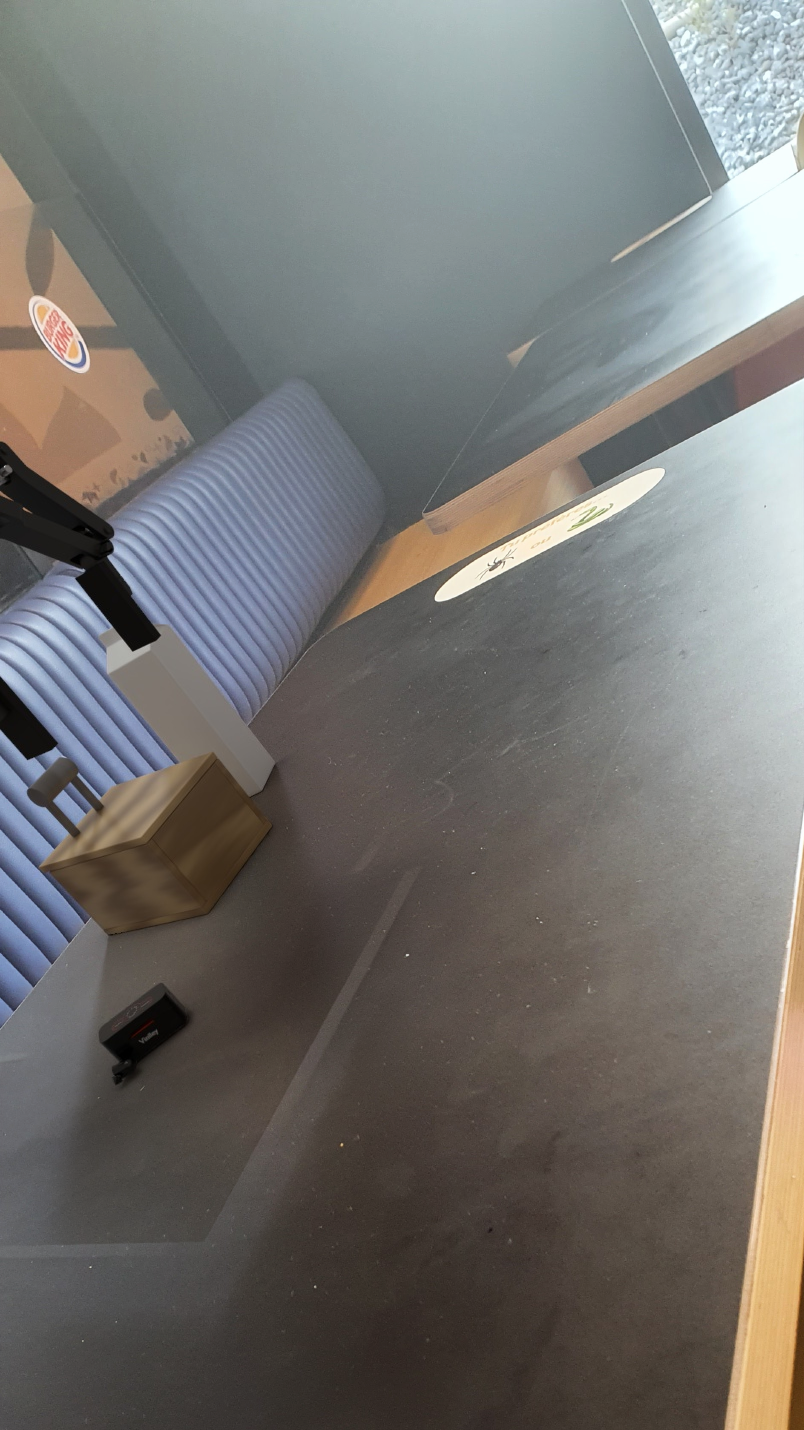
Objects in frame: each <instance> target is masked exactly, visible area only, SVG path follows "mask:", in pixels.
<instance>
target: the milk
mask: <svg viewBox="0 0 804 1430" xmlns="http://www.w3.org/2000/svg"><path fill="white" fill-rule="evenodd" d="M151 623H152V624H153V625H154V627H155V628H156V629H157V630H158V632H159V633H160V634H161V636H160V637H159V639H158V640H157V641H155V642H153V643H151V644H148V645H146V646H144V647H142V648H140V649H138V650H136V651H133V652H132V651H131V649H130V648H129V647H128V646H127V644H126V643H125V642H124V640H123V639H122V638H121V637H120V635H119V634H118V633H117V632H116V630H115V629H114V628H113V627H112V626H111V627H110V628H108V629H106V630H105V631H103V632H102V633H100V634H98V637H97V639H98V641H99V642H101V644H102V645H103V646H104V647H105V650H106V651H105V653H106V675H107V676H108V678H110V680H111V681H112V682H113V683H114V685H115V686H116V688H118V689H119V691H120V692H121V693H122V694H123V696H125V699H127V700H128V701H129V703H130V704H131V705H132V707H134V709H135V710H136V712H137V713H138V714H139V715H140V716H141V717H142V719H144V721H145V722H146V724H147V725H148V726H149V727H150V729H152V731H153V732H154V733H155V734H156V735H157V737H158V738H159V740H161V742H162V744H164V745H165V746H166V748H167V749H168V751H170V753H171V755H173V756H174V757H175V759H176V760H177V762H178V763H181V762H184V761H187V760H190V759H193V758H196V757H199V756H201V755H204V754H207V753H210V752H214V753H215V755H216V756H217V757H218V758H217V759H219V760H220V761H221V762H222V763H223V765H224V766H225V767H226V768H227V770H228V771H229V772H230V773H231V775H232V776H233V777H234V778H235V780H236V781H237V782H238V783H239V785H240V786H241V787H242V788H243V790H244V791H245V792H246V793H247V795H248V796H249V797H250V798H251V797H253V796H254V795H257V794H259V793H261V792H262V791H263V790H264V788H265V785H266V784H267V782H268V779H269V777H270V776H271V773H272V771H273V769H274V767H275V765H276V761H275V760H274V758H273V757H272V756H271V755H270V753H269V752H268V751H267V750H266V748H265V746H264V745H262V743H261V741H260V740H259V739H258V738H257V737H256V735H255V734H254V732H253V731H252V730H251V728H249V726H248V724H246V722H245V721H244V720H243V718H242V717H241V716H240V714H239V713H238V712H237V710H236V709H235V708H234V707H233V706H232V704H231V703H230V701H229V700H228V699H227V698H226V696H225V695H224V693H223V692H221V689H220V688H219V687H218V686H217V685H216V683H215V682H214V681H213V679H212V678H211V677H210V675H209V674H208V672H206V671H205V669H204V668H203V667H202V665H201V664H200V662H198V660H197V658H196V657H195V656H194V655H193V654H192V652H191V651H190V650H189V649H188V647H187V646H186V645H185V643H184V642H183V641H182V640H181V638H180V637H179V635H178V634H177V632H176V631H175V630H174V629H173V628H172V626H171V625H170V624H165V623H156V622H155V623H154V622H151Z"/></svg>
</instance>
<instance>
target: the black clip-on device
mask: <svg viewBox="0 0 804 1430" xmlns="http://www.w3.org/2000/svg"><path fill="white" fill-rule="evenodd" d="M188 1019H189V1017H188V1014H187V1010H186V1007H185V1005H184V1004H183V1002H182V1001H181V1000H179V998H178V997H176V995H175V994H174V993H173V992H172V991H171V990H170V988H168V987H167V985H165V984H164V982H159V983H157V984H156V985H153V987H151V988H150V989H149V990H147V992H145V993H144V994H142V995H141V996H140V997H138V998H137V999H135V1000H134V1001H133V1002H131V1004H129V1005H127V1006H126V1007H125V1008H124V1009H122V1010H121V1011H120V1012H119V1013H117V1014H116V1015H115V1016H114V1017H112V1018H110V1019H109V1020H108V1021H107V1022H105V1023H104V1024H102V1026H101V1027H100V1028H99V1030H98V1032H97V1033H98V1042H99V1044H100V1045H101V1046H102V1047H103V1048H104V1049H105V1050H106V1051H107V1052H108V1053H110V1054H111V1055H112V1056H113V1057H114V1058H115V1060H117V1063H115V1064H113V1065H112V1066H111V1073H112V1074H113V1076H112V1077H111V1079H112V1082H113V1084H114V1086H118V1085H120V1084H121V1083H123V1081H124V1079H126V1078H127V1077H129V1076H130V1075H131V1074H132V1073H135V1071H136V1069H137V1067H138V1061H139V1060H140V1059H141V1058H143V1057H144V1056H146V1055H147V1054H148V1053H149V1052H151V1051H152V1050H153V1049H155V1048H156V1047H157V1046H159V1045H160V1044H161V1043H162V1042H164V1041H165V1040H167V1039H168V1038H169V1037H170V1036H172V1035H173V1034H174V1033H176V1032H178V1031H179V1030H180V1029H181V1028H182V1027H184V1026H185V1025H186V1024H187V1023H188Z"/></svg>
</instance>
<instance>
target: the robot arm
mask: <svg viewBox="0 0 804 1430" xmlns="http://www.w3.org/2000/svg"><path fill="white" fill-rule="evenodd" d="M0 493H2V495H0V540H5V541H7V542H10V543H13V544H14V545H18V546H20V547H23V548H25V549H28V550H31V551H32V552H36V553H37V554H40V555H44V556H46V557H48V558H51V559H53V560H56V561H59V562H61V563H64V564H66V565H69V566H71V567H74V568H76V569H79V570H84V571H81V572H80V573H79V574H78V575H77V576H76V577H75V578H74V580H75V581H76V582H77V584H78V585H79V587H81V589H82V590H83V591H84V593H85V594H87V596H88V597H89V599H90V600H91V601H92V603H93V604H94V605H95V606H96V608H97V609H98V610H99V611H100V613H101V614H102V616H103V617H104V618H105V619H106V621H107V622H108V623H109V624H110V625H111V628H112V627H113V628H114V629H115V630H116V632H117V633H118V634H119V635H120V637H121V638H122V639H123V640H124V642H125V643H126V644H127V646H128V647H129V648H130V649H131V651H132V652H133V651H136V650H138V649H140V648H142V647H144V646H146V645H148V644H151V643H153V642H155V641H157V640H158V639H159V637H160V636H161V634H160V633H159V632H158V630H157V629H156V628H155V627H154V625H153V624H152V623H153V622H152V621H151V620H150V618H149V617H148V616H147V615H146V613H145V612H144V611H143V610H142V608H141V607H140V606H139V604H138V603H137V602H136V601H135V599H134V598H133V597H132V595H133V594H134V593H133V591H132V588H131V586H130V585H129V584H128V582H127V581H126V580H125V578H124V577H123V575H122V574H121V573H120V572H119V571H118V569H117V568H116V567H115V565H114V564H113V562H112V561H111V560H110V558H109V557H108V556H110V555H112V554H113V553H114V552H115V546H114V543H113V542H112V540H111V539H113V538H114V537H115V529H114V527H113V526H112V525H111V524H110V523H109V522H108V521H106V520H104V518H102V517H100V516H99V515H98V514H96V513H95V512H93V511H91V510H90V509H89V508H87V506H84V505H83V504H82V503H81V502H79V501H77V500H76V499H75V498H73V497H72V496H70V495H69V494H67V493H66V492H64V491H63V490H61V489H60V488H58V487H57V486H56V485H55V484H53V483H52V482H51V481H49V480H48V479H46V478H45V477H43V476H42V475H40V474H39V473H38V472H36V471H34V469H32V468H30V467H28V466H27V464H25V462H23V460H22V459H21V458H20V456H19V455H18V454H17V453H16V452H15V451H14V450H13V449H12V448H11V446H10V445H8V443H6V442H4V441H1V440H0ZM3 495H5V496H6V497H5V496H3ZM0 732H1V733H2V734H3V735H4V736H5V737H6V738H7V739H8V740H9V742H10V743H11V744H12V745H13V746H14V747H15V748H16V750H17V751H18V752H19V753H20V754H21V755H22V756H23V757H24V759H25V760H26V761H29V760H32V759H34V758H37V757H39V756H42V755H44V754H46V753H48V752H52V751H53V750H54V749H55V748H56V747H57V746H58V744H59V742H58V741H57V740H56V739H55V737H54V736H53V735H52V734H51V733H50V732H49V730H48V729H47V728H46V727H45V726H44V725H43V723H42V722H41V721H40V720H39V719H38V718H37V716H36V715H34V713H33V712H32V711H31V710H30V708H29V707H28V706H27V705H26V704H25V703H24V701H22V699H21V698H20V697H19V696H18V695H17V693H16V692H15V691H14V690H13V689H12V688H11V686H10V685H9V684H8V683H7V681H5V679H4V678H3V677H2V676H1V675H0Z"/></svg>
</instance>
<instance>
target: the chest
mask: <svg viewBox="0 0 804 1430" xmlns="http://www.w3.org/2000/svg"><path fill="white" fill-rule="evenodd" d="M272 827H273V825H272V823H271V822H270V821H269V820H268V818H267V817H266V816H265V814H264V813H263V812H262V811H261V809H260V808H259V807H258V806H257V805H256V804H255V802H254V801H253V800H252V798H251V797H249V796H248V795H247V793H246V792H245V791H244V790H243V788H242V787H241V786H240V785H239V783H238V782H237V781H236V780H235V778H234V777H233V776H232V775H231V773H230V772H229V771H228V770H227V768H226V767H225V766H224V765H223V763H222V762H221V761H220V760H219V759H216V760H215V762H214V763H213V764H212V765H211V766H210V768H209V769H208V770H207V771H206V772H205V774H204V775H203V776H202V777H201V778H200V780H199V781H198V782H197V783H196V784H195V786H194V787H193V788H192V789H191V790H190V792H189V793H188V794H187V795H186V796H185V798H184V799H183V800H182V801H181V802H180V804H179V805H178V806H177V807H176V808H175V810H174V811H173V812H172V813H171V814H170V816H169V817H168V818H167V819H166V821H165V822H164V823H163V824H162V825H161V827H160V828H159V829H158V830H157V831H156V833H155V834H154V835H153V836H152V837H151V839H150V840H149V841H148V842H147V843H146V844H143V845H140V846H136V847H133V848H129V849H126V850H122V851H119V852H115V853H112V854H108V855H105V856H101V857H98V858H94V859H91V860H88V861H84V862H81V863H77V864H74V865H70V866H67V867H63V868H60V869H56V870H53V871H49V872H48V873H49V874H50V876H52V878H53V879H54V880H55V881H56V882H57V883H58V884H59V885H60V886H61V887H62V888H63V890H64V891H66V892H67V893H68V894H69V896H70V897H71V898H72V899H73V900H74V901H75V902H76V903H77V904H78V905H79V906H80V907H81V909H83V911H84V912H85V913H86V914H87V915H88V916H89V917H90V918H91V919H92V921H94V922H95V923H96V924H97V925H98V927H100V929H102V930H103V932H104V933H105V934H106V935H107V936H109V935H108V934H113V935H116V934H115V933H117V934H121V932H122V933H126V932H131V931H135V930H139V929H144V928H148V927H149V928H150V927H154V926H158V925H163V924H168V923H171V922H177V921H181V920H185V919H190V918H194V917H199V916H203V915H208V914H209V913H210V912H211V910H212V909H213V908H214V906H215V905H216V903H217V902H218V901H219V900H220V898H221V897H222V895H223V894H224V892H225V891H226V889H227V888H228V887H229V886H230V884H231V883H232V881H234V879H235V878H236V876H237V875H238V874H239V872H240V871H241V869H242V868H243V866H244V865H245V864H246V862H248V860H249V859H250V857H251V856H252V855H253V853H254V852H255V850H256V849H257V848H258V846H259V845H260V844H261V843H262V841H263V840H264V838H265V837H266V835H267V834H268V833H269V831H270V830H271V828H272Z"/></svg>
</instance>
